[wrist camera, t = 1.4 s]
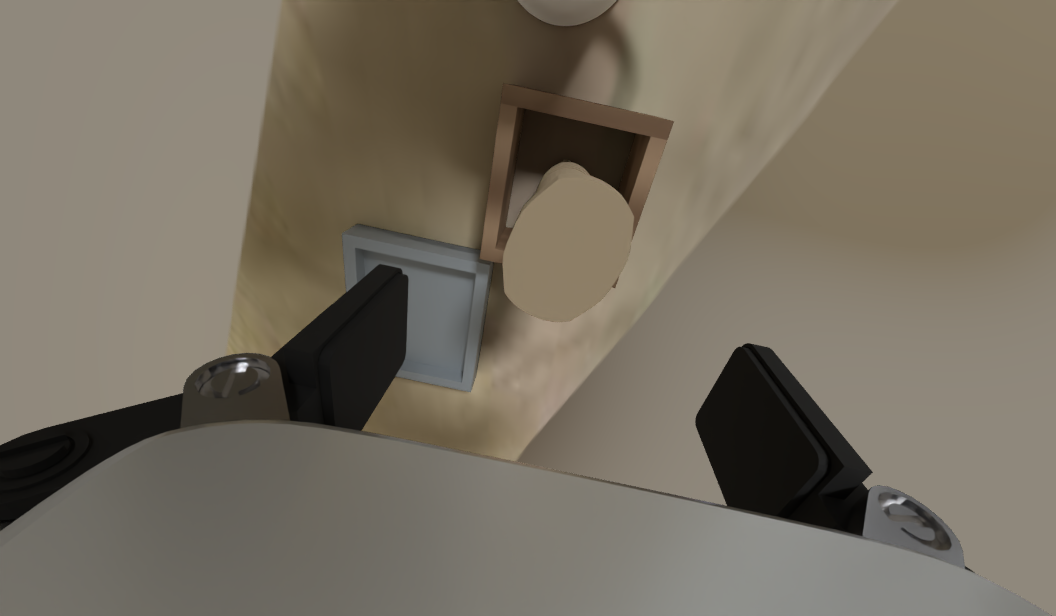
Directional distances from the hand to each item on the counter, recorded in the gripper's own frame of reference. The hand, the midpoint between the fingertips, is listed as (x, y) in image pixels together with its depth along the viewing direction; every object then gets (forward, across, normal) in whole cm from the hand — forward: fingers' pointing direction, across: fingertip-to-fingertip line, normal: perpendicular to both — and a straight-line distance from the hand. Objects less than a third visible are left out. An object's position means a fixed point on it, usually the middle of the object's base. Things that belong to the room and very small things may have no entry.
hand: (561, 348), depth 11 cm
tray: (+21, +11, +13) cm, 27 cm away
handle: (+21, 0, -1) cm, 21 cm away
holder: (+21, 0, -1) cm, 21 cm away
